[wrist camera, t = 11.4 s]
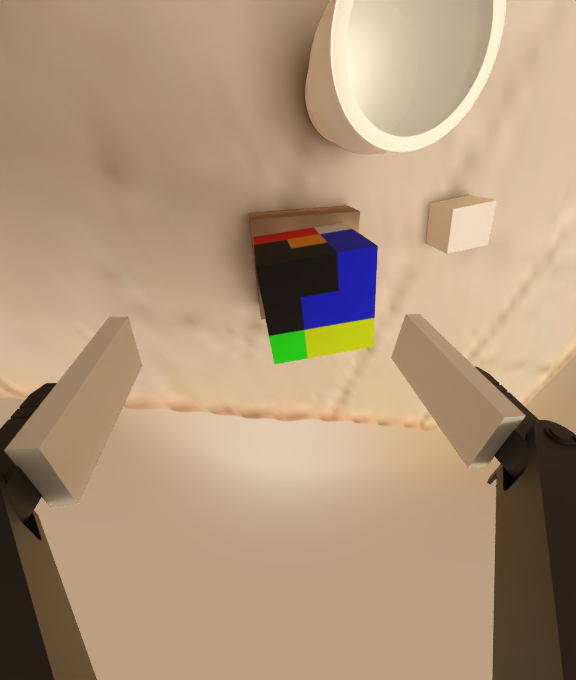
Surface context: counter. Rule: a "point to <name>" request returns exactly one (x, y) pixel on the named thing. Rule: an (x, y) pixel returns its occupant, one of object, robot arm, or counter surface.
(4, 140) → the counter surface
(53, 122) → the counter surface
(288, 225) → the walnut block
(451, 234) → the beige wooden block
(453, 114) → the jar
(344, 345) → the puzzle toy
